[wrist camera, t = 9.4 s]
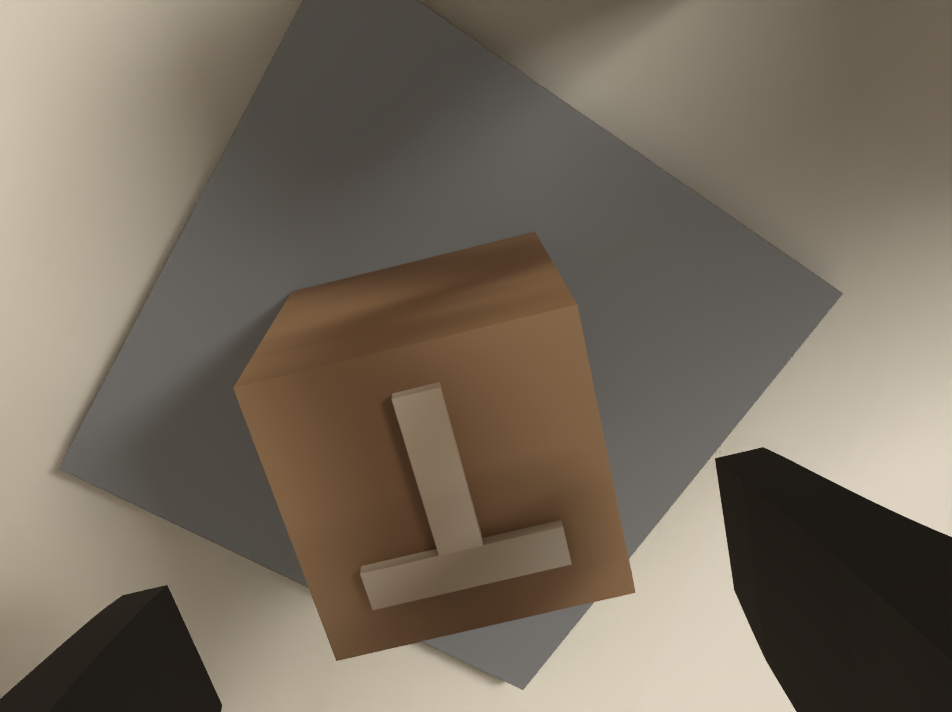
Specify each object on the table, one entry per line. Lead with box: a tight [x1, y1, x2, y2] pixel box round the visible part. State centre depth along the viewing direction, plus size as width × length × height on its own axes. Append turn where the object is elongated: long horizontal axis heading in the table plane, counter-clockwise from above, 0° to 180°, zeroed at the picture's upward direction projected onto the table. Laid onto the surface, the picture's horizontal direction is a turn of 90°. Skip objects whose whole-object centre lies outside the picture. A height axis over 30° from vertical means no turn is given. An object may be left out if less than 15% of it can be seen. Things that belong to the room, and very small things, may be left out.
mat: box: [59, 0, 843, 690], centre depth 17 cm, size 12×12×1 cm
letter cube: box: [233, 232, 635, 661], centre depth 14 cm, size 5×5×5 cm
